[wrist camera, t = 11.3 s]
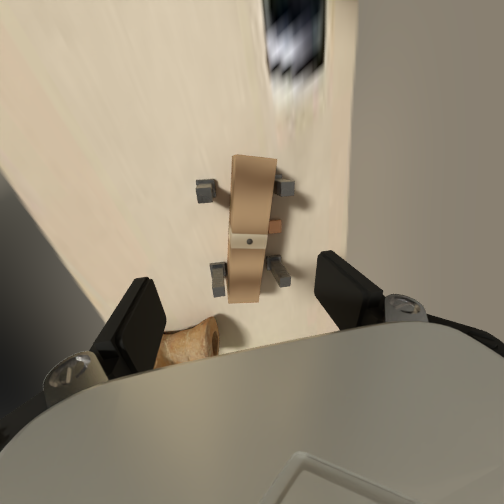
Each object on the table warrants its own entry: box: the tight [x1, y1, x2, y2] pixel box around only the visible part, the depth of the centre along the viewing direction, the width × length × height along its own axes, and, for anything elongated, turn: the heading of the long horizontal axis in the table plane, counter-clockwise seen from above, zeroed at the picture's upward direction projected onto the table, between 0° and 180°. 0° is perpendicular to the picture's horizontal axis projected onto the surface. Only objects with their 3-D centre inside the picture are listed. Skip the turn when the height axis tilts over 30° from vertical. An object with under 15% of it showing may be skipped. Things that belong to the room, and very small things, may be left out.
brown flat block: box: [268, 219, 281, 234], centre depth 31 cm, size 2×2×1 cm
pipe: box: [153, 317, 219, 369], centre depth 33 cm, size 9×16×10 cm, turn 104°
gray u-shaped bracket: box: [196, 174, 295, 203], centre depth 25 cm, size 2×12×6 cm, turn 93°
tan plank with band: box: [226, 155, 277, 303], centre depth 28 cm, size 20×5×6 cm, turn 175°
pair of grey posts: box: [210, 255, 291, 297], centre depth 30 cm, size 2×12×6 cm, turn 93°
